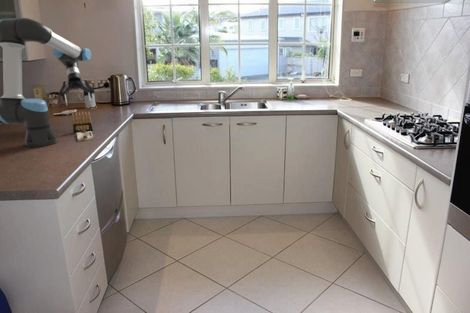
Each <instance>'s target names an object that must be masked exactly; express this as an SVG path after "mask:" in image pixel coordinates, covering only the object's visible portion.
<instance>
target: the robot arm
mask: <svg viewBox="0 0 470 313" xmlns="http://www.w3.org/2000/svg"><path fill="white" fill-rule="evenodd" d="M26 42H27V43H28V42H33V43H39V44H41V45H47V46H49V47H52V48H53V49H52V55H53V56H54V57H55V58H56V59H57V60H58V61H59V62H60V63H62V65H63V66H64V67H65V69H66V76H67V82H66V81H62V86H61V88H60V90H59V91H58V95H59V97H62V100H63V101H65V105H66V106H68V99H67V94H68V93H70V91H72V90H76V89H78V90H79V89H81V91H83V92H84V91H85V92H87V93H88V95H89V101H90V103H91V98H92V94H94V95H95V89H94V88H93V87H92V86H91V85H90V84H89V83H88V80H83V81H82V78H81V72H80V68H79V67H80V66H79V62H87V61H88V62H89V61H90V60H91V58H92V51H91V50H90V49H89V48H88V47H87V48H86V47H80V46H78V45H76V44H75V43H73V42H71V41H69V40H68V39H66V38H64V37H63V36H61V35H59V34H57V33H56V32H53V31H52V29H51V28H50V27H49V26H47V25H45V24H44V23H41V22H39V21H37V20H34V19H31V18H27V17H20V18H19V17H17V18H16V17H15V18H1V19H0V47H1V48H2V72H3V73H2V74H3V75H2V77H3V83H2V84H3V95H2V96H0V122H1V123H4V124H8V125H25V129H26V130H25V131H26V132H25V139H24V144H25V146H26V147H27V148H40V147H46V146H51V145H53V144H56V143H57V142H58V140H57V136H56V135H55V132H54V131H53V129H52V126H51V120H50V113H49V107H48V104H47V102H46V101H45V100H44V99H41V98H26V97H24V95H23V56H22V55H23V54H22V53H23V50H24V49H25V47H26ZM67 86H68V87H67ZM66 87H67V88H66Z"/></svg>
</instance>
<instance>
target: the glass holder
mask: <svg viewBox="0 0 470 313" xmlns="http://www.w3.org/2000/svg"><path fill="white" fill-rule="evenodd" d="M80 92H81V93H82V97H84V101H83V99H82V98H81V96H80ZM77 95H78V98H79V99H80V101H81V102H82V103H84V104H85V108H86V107H87V108H89V107H95V106H96V107H97V105H96V103H97V102H96V96H95V93H94V94H92V98H91V103H90V101H89V95H88V93H87V92H85V91H84V90H79V91H78V92H77Z"/></svg>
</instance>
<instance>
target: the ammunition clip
mask: <svg viewBox="0 0 470 313" xmlns="http://www.w3.org/2000/svg"><path fill="white" fill-rule="evenodd" d="M71 123H72V128H73V129H72V130H73V133H74V134H77V133H79V132H82V130H86V132H87V131H91V132H93V131H94V130H93V123H92V118H91V113H90V111H84V112H83V111H81V113H80V112H78V113H77V111H76V112H75V113H73V112H71Z"/></svg>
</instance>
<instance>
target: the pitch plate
mask: <svg viewBox="0 0 470 313" xmlns="http://www.w3.org/2000/svg"><path fill="white" fill-rule="evenodd" d="M76 137H77V142H85V141H92V140H95V138H94V135H93V131H88V132H86V130H82V132H78V133H76Z"/></svg>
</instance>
